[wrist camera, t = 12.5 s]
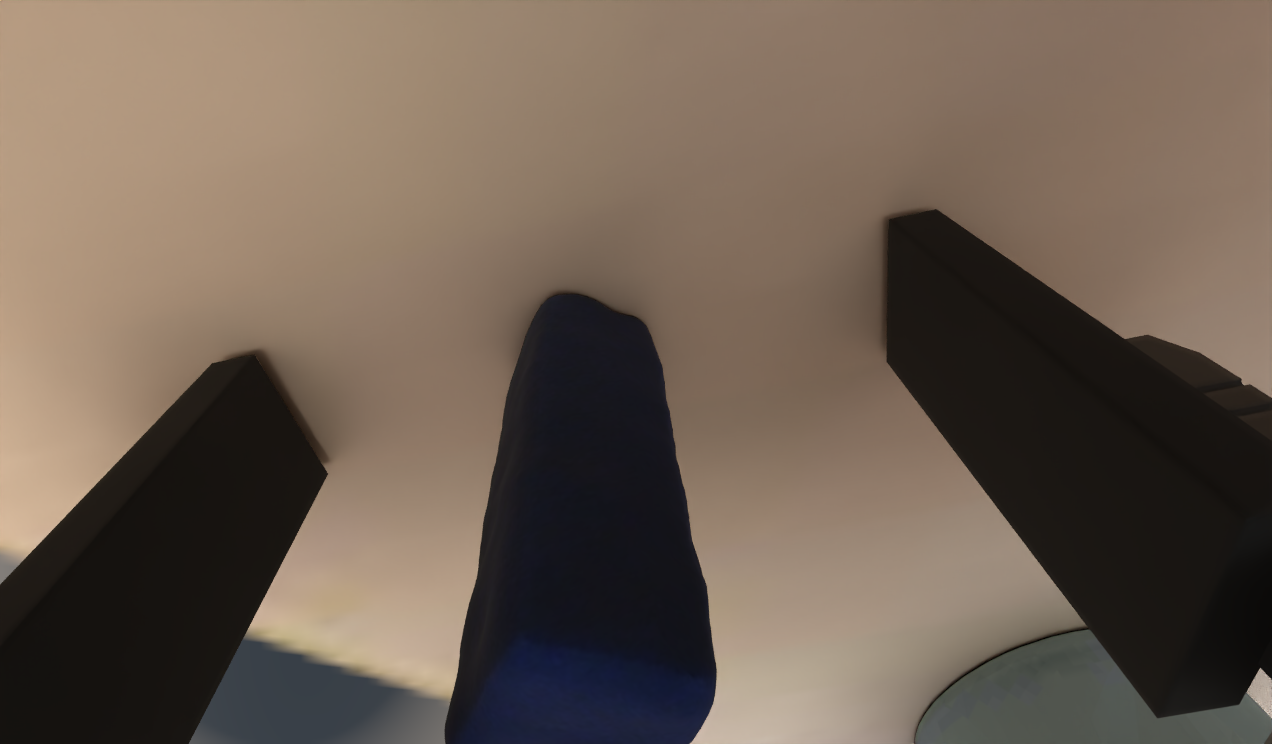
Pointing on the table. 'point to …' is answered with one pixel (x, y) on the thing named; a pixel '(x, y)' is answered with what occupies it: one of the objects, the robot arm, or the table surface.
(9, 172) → the table surface
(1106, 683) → the grey green cup
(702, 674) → the eraser
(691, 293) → the table surface
